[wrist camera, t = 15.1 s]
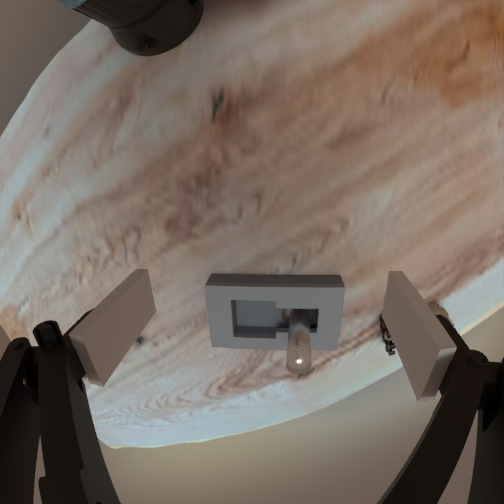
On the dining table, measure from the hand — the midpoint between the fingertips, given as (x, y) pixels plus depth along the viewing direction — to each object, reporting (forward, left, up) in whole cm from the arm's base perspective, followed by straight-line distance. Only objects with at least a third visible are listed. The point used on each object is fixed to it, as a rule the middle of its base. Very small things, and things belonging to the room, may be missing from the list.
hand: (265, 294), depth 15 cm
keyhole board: (+10, -12, -28) cm, 33 cm away
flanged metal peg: (+13, -10, -27) cm, 32 cm away
